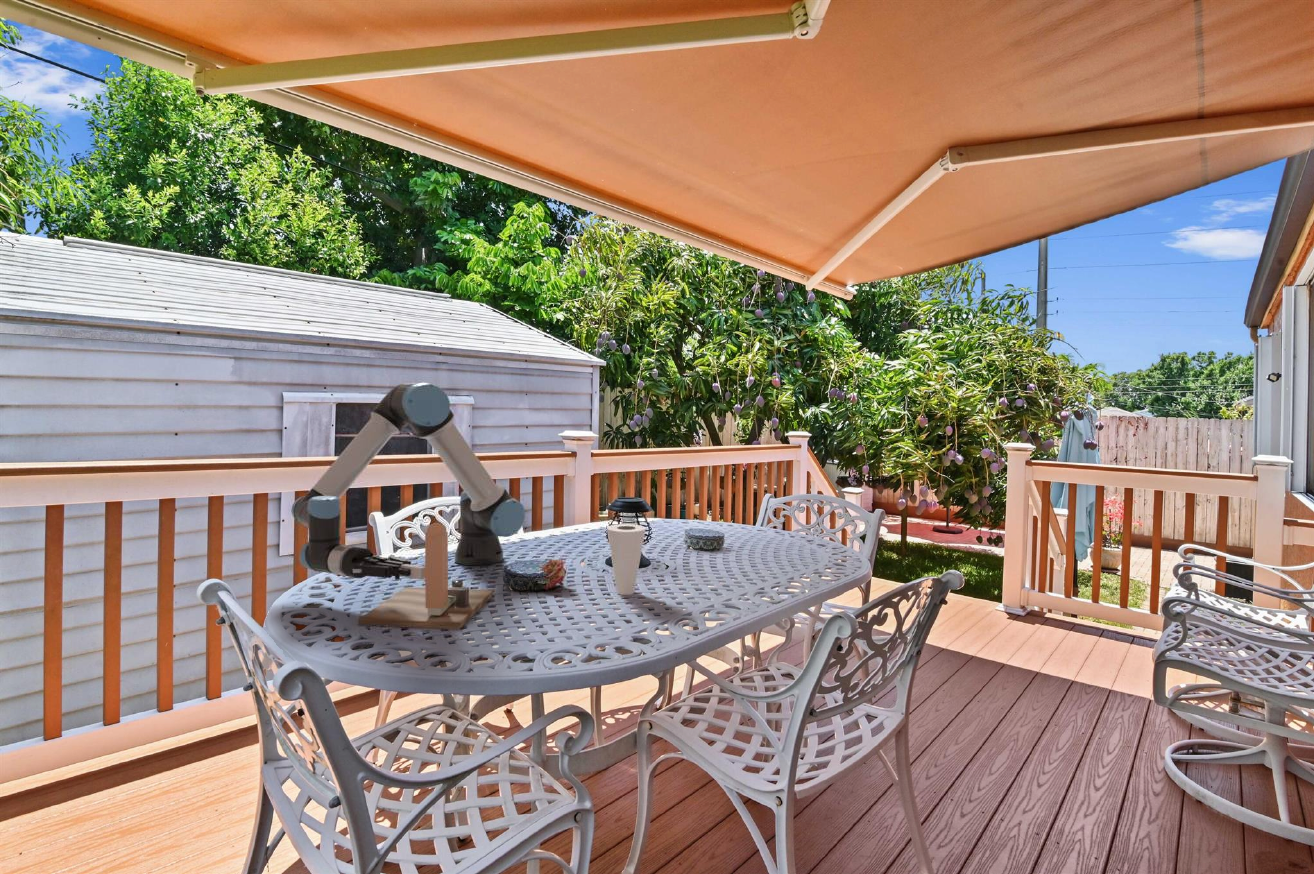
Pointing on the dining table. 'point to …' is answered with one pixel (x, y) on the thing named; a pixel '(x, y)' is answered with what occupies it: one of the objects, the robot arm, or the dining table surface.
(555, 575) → the flower
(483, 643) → the dining table surface
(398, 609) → the board
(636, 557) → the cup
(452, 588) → the keeper
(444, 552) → the link
